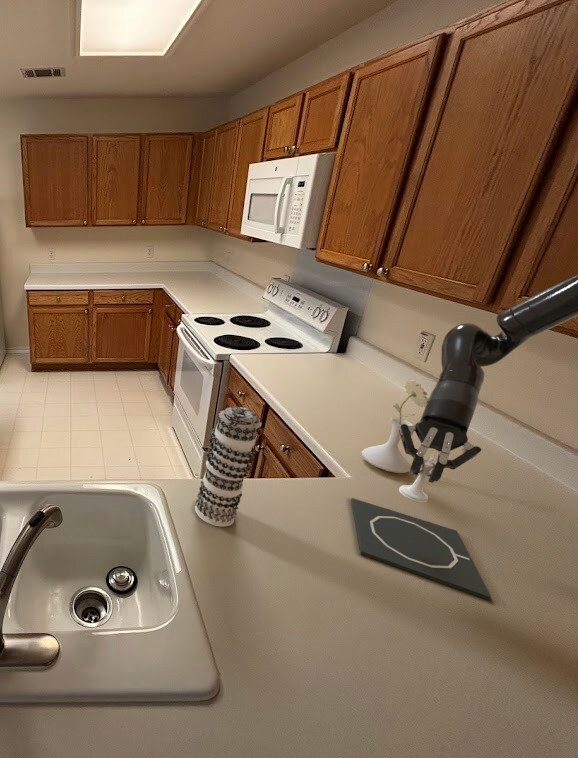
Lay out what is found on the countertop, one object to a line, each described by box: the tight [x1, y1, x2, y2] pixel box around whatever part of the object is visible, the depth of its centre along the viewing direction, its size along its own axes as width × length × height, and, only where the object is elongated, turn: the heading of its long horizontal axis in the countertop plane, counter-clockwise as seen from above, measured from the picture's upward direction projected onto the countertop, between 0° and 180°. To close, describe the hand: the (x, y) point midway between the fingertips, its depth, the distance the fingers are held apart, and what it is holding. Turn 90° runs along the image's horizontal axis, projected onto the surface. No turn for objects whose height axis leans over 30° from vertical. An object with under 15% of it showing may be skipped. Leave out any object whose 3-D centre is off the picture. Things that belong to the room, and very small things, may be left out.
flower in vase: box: [361, 379, 429, 474], centre depth 112 cm, size 13×11×25 cm
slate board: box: [350, 497, 492, 601], centre depth 86 cm, size 20×20×1 cm
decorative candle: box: [194, 406, 263, 528], centre depth 86 cm, size 9×9×25 cm
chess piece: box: [398, 453, 436, 504], centre depth 84 cm, size 5×5×10 cm
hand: (423, 478), depth 83 cm, fingers closed on chess piece
